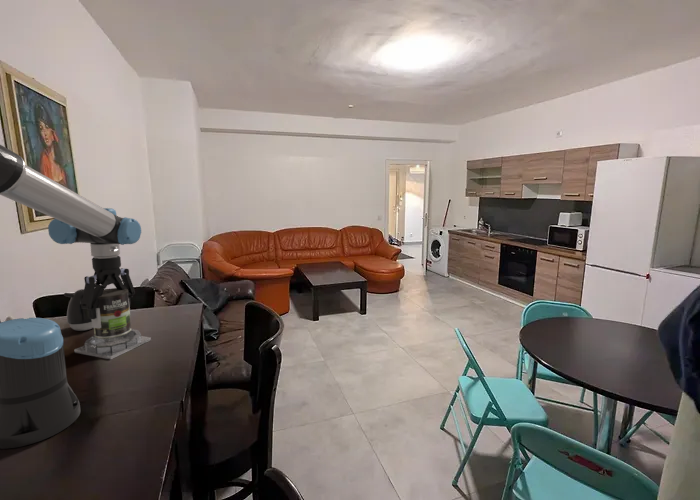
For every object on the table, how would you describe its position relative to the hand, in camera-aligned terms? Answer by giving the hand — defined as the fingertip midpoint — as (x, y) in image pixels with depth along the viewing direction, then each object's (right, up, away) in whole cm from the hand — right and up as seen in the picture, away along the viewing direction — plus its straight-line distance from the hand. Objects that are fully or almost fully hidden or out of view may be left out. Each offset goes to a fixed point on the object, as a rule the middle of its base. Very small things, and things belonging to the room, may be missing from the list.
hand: (112, 321), depth 112 cm
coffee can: (0, -4, +1) cm, 4 cm away
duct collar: (0, -8, +1) cm, 9 cm away
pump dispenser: (-21, -6, +15) cm, 27 cm away
